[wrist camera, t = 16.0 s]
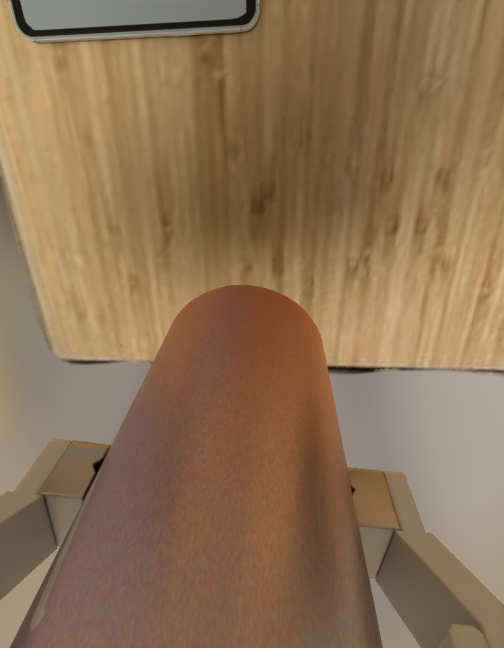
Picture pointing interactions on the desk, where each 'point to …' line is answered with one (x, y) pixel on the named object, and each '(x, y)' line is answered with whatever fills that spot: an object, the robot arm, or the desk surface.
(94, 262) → the desk surface
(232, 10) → the smartphone
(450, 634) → the robot arm
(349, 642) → the beverage can
